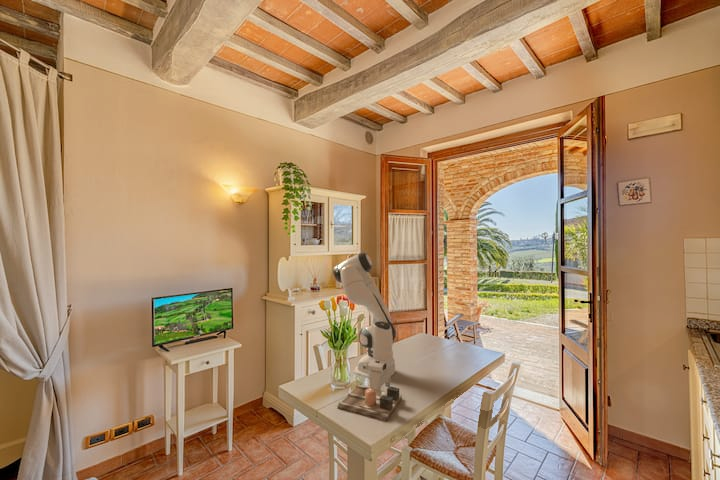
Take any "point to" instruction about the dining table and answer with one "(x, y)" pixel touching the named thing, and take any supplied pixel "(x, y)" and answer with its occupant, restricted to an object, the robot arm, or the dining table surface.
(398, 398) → the strip
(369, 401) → the orange rounded piece
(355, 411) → the lane board
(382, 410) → the strip
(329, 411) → the dining table surface
